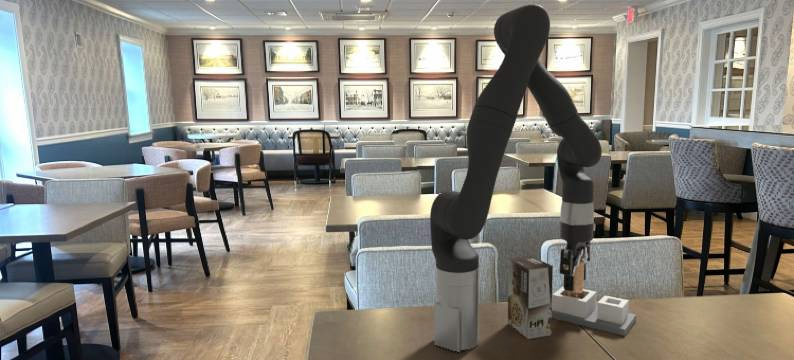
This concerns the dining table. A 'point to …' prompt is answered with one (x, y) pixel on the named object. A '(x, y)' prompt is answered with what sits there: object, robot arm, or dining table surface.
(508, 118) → the robot arm
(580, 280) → the copper pipe
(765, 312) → the dining table surface
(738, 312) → the dining table surface
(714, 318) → the dining table surface
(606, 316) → the socket plate
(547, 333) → the coffee box
